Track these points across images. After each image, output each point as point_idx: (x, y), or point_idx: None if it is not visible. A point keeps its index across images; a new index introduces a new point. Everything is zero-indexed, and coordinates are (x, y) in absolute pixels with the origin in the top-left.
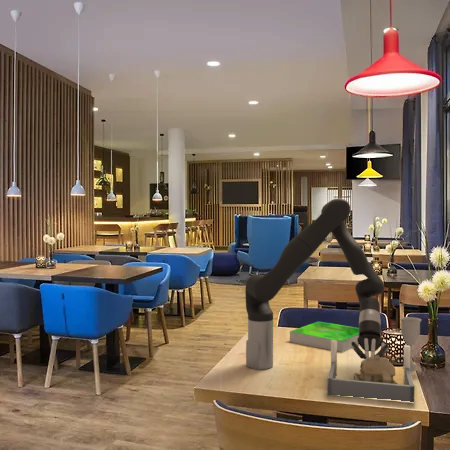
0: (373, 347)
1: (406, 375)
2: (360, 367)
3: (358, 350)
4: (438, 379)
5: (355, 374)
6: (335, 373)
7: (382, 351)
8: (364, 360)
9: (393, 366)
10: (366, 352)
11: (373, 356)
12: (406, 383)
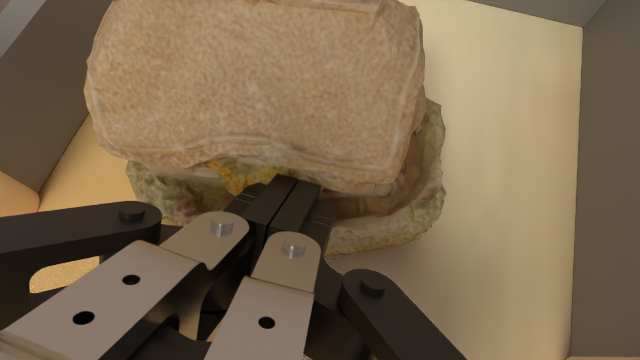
0: (121, 284)
1: (50, 30)
2: (403, 159)
3: (431, 346)
4: None
5: (432, 194)
6: (585, 357)
7: (11, 222)
8: (402, 19)
9: (113, 3)
10: (293, 281)
11: (211, 217)
12: (86, 66)
